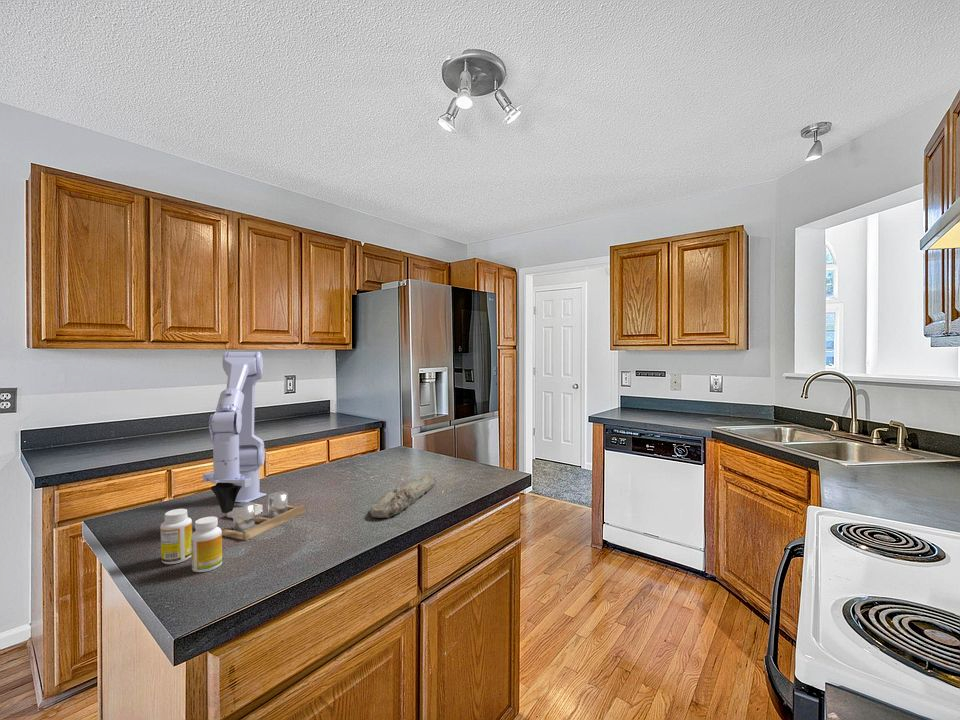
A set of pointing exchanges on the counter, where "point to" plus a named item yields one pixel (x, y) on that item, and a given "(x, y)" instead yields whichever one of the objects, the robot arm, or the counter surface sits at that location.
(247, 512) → the billet
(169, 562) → the supplement bottle
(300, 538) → the counter surface
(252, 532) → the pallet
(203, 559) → the supplement bottle
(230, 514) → the button housing
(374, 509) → the elongated rock
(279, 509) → the cylinder
